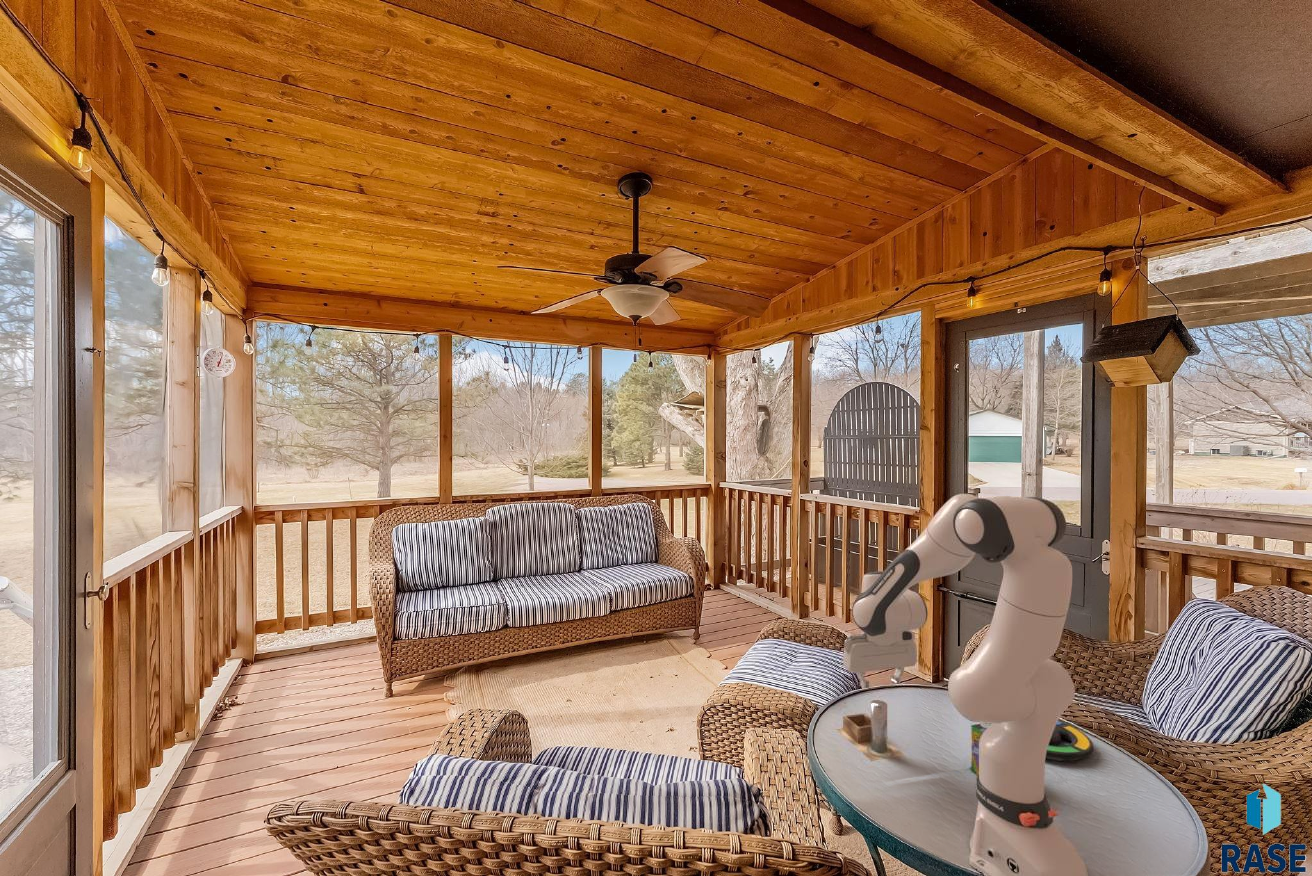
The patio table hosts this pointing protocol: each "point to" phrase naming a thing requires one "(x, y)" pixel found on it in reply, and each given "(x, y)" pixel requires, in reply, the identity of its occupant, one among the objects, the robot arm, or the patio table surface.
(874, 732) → the peg
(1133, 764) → the patio table surface
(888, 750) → the pocket board
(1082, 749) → the electronic game
